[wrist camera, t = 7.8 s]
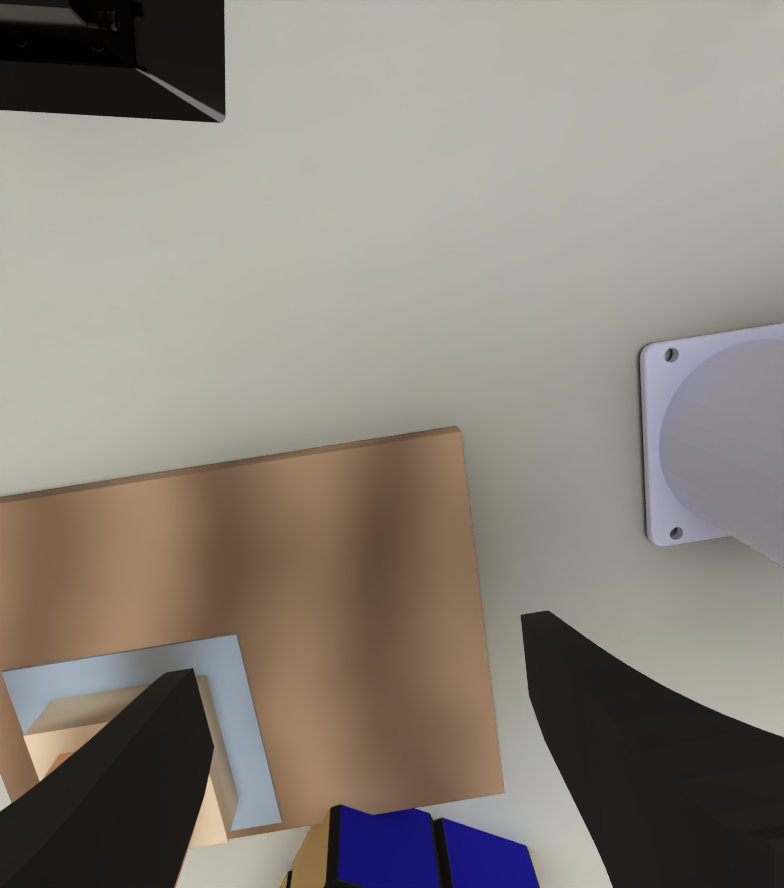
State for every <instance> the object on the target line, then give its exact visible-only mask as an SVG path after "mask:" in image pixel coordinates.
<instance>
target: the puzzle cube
mask: <svg viewBox="0 0 784 888" xmlns="http://www.w3.org/2000/svg"><path fill="white" fill-rule="evenodd" d="M280 888H540V887H539V883H538V880H537V877H536V874H535V871H534V867H533V864H532V861H531V858H530V854H529V852H528V849H527V846H525V845H522V844H519V843H516V842H513V841H510V840H507V839H504V838H501V837H498V836H495V835H492V834H489V833H486V832H483V831H480V830H477V829H474V828H471V827H468V826H466V825H463V824H460V823H457V822H454V821H451V820H448V819H445V818H440V819H437V820H435V821H433V820H432V817H431V815H430V813H427V812H424V811H421V810H418V809H415V808H411V809H405V810H399V811H393V812H387V813H381V814H375V815H371V814H368V813H365V812H362V811H359V810H356V809H353V808H350V807H347V806H344V805H341V804H339V805H337V806H334V807H331V808H330V809H329V811H328V813H327V815H326V817H325V819H324V821H323V823H322V824H316V825H312V826H311V828H310V830H309V832H308V834H307V836H306V838H305V840H304V842H303V844H302V846H301V848H300V850H299V852H298V853H297V855H296V857H295V859H294V862H293V870H292V871H289V872H288V873H287V875H286V877H285V879H284V881H283V883H282V885H281V887H280Z"/></svg>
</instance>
